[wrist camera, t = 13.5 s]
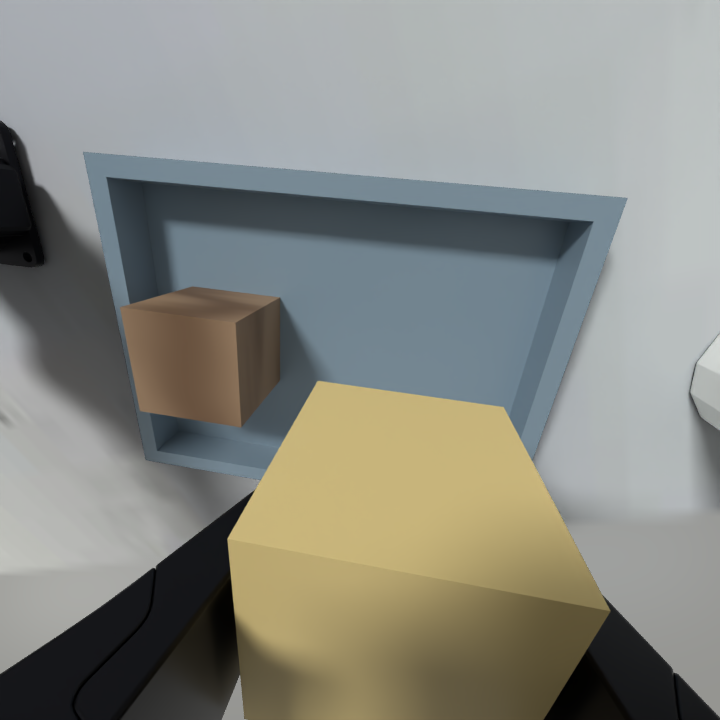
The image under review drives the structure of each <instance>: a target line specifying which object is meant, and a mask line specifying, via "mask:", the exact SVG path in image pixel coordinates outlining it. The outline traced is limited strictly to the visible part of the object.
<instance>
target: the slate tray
mask: <svg viewBox="0 0 720 720" xmlns="http://www.w3.org/2000/svg"><path fill="white" fill-rule="evenodd" d="M83 154H84V159H85V164H86V169H87V174H88V179H89V183H90V188H91V193H92V198H93V203H94V208H95V213H96V218H97V223H98V228H99V233H100V237H101V242H102V247H103V252H104V257H105V262H106V267H107V272H108V277H109V282H110V287H111V292H112V296H113V301H114V306H115V311H116V316H117V321H118V326H119V331H120V336H121V341H122V346H123V350H124V355H125V360H126V365H127V370H128V375H129V380H130V385H131V390H132V395H133V400H134V405H135V409H136V414H137V419H138V424H139V429H140V434H141V439H142V444H143V449H144V454H145V459H146V460H148V461H154V462H159V463H165V464H171V465H177V466H183V467H188V468H194V469H200V470H206V471H211V472H217V473H223V474H229V475H235V476H240V477H246V478H252V479H258V480H261V479H262V477H263V476H264V474H265V472H266V470H267V469H268V467H269V465H270V463H271V462H272V460H273V458H274V456H275V455H276V453H277V451H278V449H279V448H280V446H281V444H282V442H283V441H284V439H285V437H286V435H287V434H288V432H289V430H290V428H291V427H292V425H293V423H294V421H295V420H296V418H297V416H298V414H299V413H300V411H301V409H302V407H303V406H304V404H305V402H306V400H307V399H308V397H309V395H310V393H311V392H312V390H313V388H314V386H315V385H316V383H317V381H323V382H330V383H337V384H344V385H351V386H358V387H365V388H373V389H380V390H387V391H394V392H401V393H408V394H415V395H422V396H429V397H436V398H443V399H450V400H457V401H464V402H471V403H478V404H486V405H493V406H500V407H504V409H505V411H506V412H507V414H508V416H509V418H510V420H511V422H512V424H513V426H514V428H515V430H516V432H517V433H518V435H519V437H520V439H521V441H522V443H523V445H524V447H525V449H526V451H527V453H528V454H529V456H530V458H531V460H533V457H534V454H535V451H536V449H537V446H538V443H539V440H540V438H541V435H542V432H543V429H544V427H545V424H546V421H547V418H548V416H549V413H550V410H551V407H552V405H553V402H554V399H555V396H556V394H557V391H558V388H559V385H560V383H561V380H562V377H563V374H564V372H565V369H566V366H567V363H568V361H569V358H570V355H571V352H572V350H573V347H574V344H575V341H576V339H577V336H578V333H579V330H580V328H581V325H582V322H583V319H584V317H585V314H586V311H587V308H588V306H589V303H590V300H591V297H592V295H593V292H594V289H595V286H596V284H597V281H598V278H599V275H600V273H601V270H602V267H603V264H604V262H605V259H606V256H607V253H608V251H609V248H610V245H611V242H612V240H613V237H614V234H615V231H616V229H617V226H618V223H619V220H620V218H621V215H622V212H623V209H624V207H625V204H626V201H627V198H622V197H610V196H598V195H586V194H575V193H563V192H551V191H539V190H527V189H515V188H504V187H492V186H480V185H468V184H456V183H444V182H432V181H421V180H409V179H397V178H385V177H373V176H361V175H350V174H338V173H326V172H314V171H302V170H290V169H279V168H267V167H255V166H243V165H231V164H219V163H208V162H196V161H184V160H172V159H160V158H148V157H137V156H125V155H113V154H101V153H89V152H83ZM192 286H193V287H201V288H209V289H217V290H225V291H233V292H241V293H249V294H257V295H265V296H273V297H280V381H279V382H278V384H277V385H276V386H275V387H274V388H273V390H272V391H271V392H270V393H269V394H268V396H267V397H266V398H265V399H264V401H263V402H262V403H261V404H260V405H259V407H258V408H257V409H256V410H255V411H254V413H253V414H252V415H251V416H250V418H249V419H248V420H247V421H246V422H245V424H244V425H243V426H242V427H235V426H229V425H223V424H216V423H210V422H204V421H198V420H192V419H186V418H180V417H173V416H167V415H161V414H155V413H149V412H143V411H140V409H139V403H138V398H137V393H136V388H135V383H134V378H133V372H132V367H131V362H130V357H129V352H128V347H127V341H126V336H125V331H124V326H123V321H122V316H121V310H120V307H123V306H126V305H129V304H133V303H136V302H140V301H143V300H147V299H150V298H154V297H157V296H161V295H164V294H168V293H171V292H175V291H178V290H182V289H185V288H189V287H192Z"/></svg>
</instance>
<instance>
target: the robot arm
mask: <svg viewBox="0 0 720 720" xmlns="http://www.w3.org/2000/svg"><path fill="white" fill-rule="evenodd" d="M0 264H8V265H16V266H25V267H36V266H42V265H43V264H44V256H43V252H42V248H41V245H40V241H39V237H38V233H37V230H36V226H35V222H34V219H33V215H32V211H31V208H30V204H29V200H28V197H27V193H26V189H25V186H24V182H23V178H22V175H21V171H20V167H19V164H18V160H17V156H16V153H15V149H14V145H13V142H12V138H11V134H10V132H9V129H8V127H7V126H6V125H5V124H4V123H3V122H2V121H0ZM254 491H255V490H254ZM254 491H253V492H252V493H250V494H249V495H248V496H246V497H245V498H244V499H242V500H241V501H240V502H239V503H237V504H236V505H235V506H233V507H232V508H231V509H229V510H228V511H227V512H225V513H224V514H223V515H222V516H220V517H219V518H218V519H216V520H215V521H214V522H212V523H211V524H210V525H208V526H207V527H206V528H205V529H203V530H202V531H201V532H199V533H198V534H197V535H195V536H194V537H193V538H191V539H190V540H189V541H188V542H186V543H185V544H184V545H182V546H181V547H180V548H178V549H177V550H176V551H174V552H173V553H172V554H170V555H169V556H168V557H167V558H165V559H164V560H163V561H161V562H160V563H159V564H158V565H157V566H156V569H155V568H152V569H151V570H149V571H148V572H147V573H145V574H144V575H143V576H142V577H140V578H139V579H138V580H136V581H135V582H134V583H132V584H131V585H130V586H128V587H127V588H125V589H124V590H123V591H121V592H120V593H119V594H117V595H116V596H115V597H113V598H112V599H111V600H109V601H108V602H106V603H105V604H104V605H102V606H101V607H100V608H98V609H97V610H95V611H94V612H92V613H91V614H89V615H88V616H86V617H85V618H83V619H82V620H81V621H79V622H78V623H76V624H75V625H73V626H72V627H70V628H69V629H67V630H66V631H64V632H63V633H62V634H60V635H59V636H57V637H56V638H54V639H52V640H51V641H50V642H48V643H46V644H45V645H43V646H42V647H40V648H39V649H37V650H36V651H34V652H33V653H31V654H30V655H28V656H27V657H25V658H24V659H22V660H21V661H19V662H18V663H16V664H15V665H13V666H12V667H10V668H9V669H7V670H6V671H4V672H3V673H1V674H0V720H222V717H223V715H224V712H225V710H226V707H227V705H228V702H229V700H230V697H231V695H232V693H233V690H234V688H235V685H236V683H237V680H238V678H239V675H240V666H239V656H238V645H237V635H236V624H235V613H234V603H233V592H232V582H231V571H230V561H229V550H228V540H227V539H228V537H229V535H230V533H231V532H232V530H233V528H234V526H235V525H236V523H237V521H238V519H239V518H240V516H241V514H242V512H243V511H244V509H245V507H246V505H247V504H248V502H249V500H250V498H251V497H252V495H253V493H254ZM602 596H603V595H602ZM603 598H604V599H605V601H606V603H607V605H608V607H609V609H610V613H609V615H608V616H607V618H606V619H605V621H604V623H603V624H602V626H601V628H600V629H599V631H598V632H597V634H596V636H595V637H594V639H593V640H592V642H591V644H590V645H589V647H588V649H587V650H586V652H585V653H584V655H583V657H582V658H581V660H580V662H579V663H578V665H577V666H576V668H575V670H574V671H573V673H572V674H571V676H570V678H569V679H568V681H567V683H566V684H565V686H564V687H563V689H562V691H561V692H560V694H559V696H558V697H557V699H556V700H555V702H554V704H553V705H552V707H551V709H550V710H549V712H548V713H547V715H546V717H545V718H544V720H720V717H719V716H718V715H717V714H716V713H715V712H714V711H713V710H712V709H711V708H710V707H709V706H708V705H707V704H706V703H705V702H704V701H703V700H702V699H701V698H700V697H699V696H698V695H697V693H696V692H695V691H694V690H693V689H692V688H691V687H690V686H689V685H688V684H687V683H686V682H685V681H684V680H683V679H682V678H681V677H680V676H679V675H678V674H677V673H673V669H672V668H671V666H670V665H669V664H668V663H667V662H666V661H665V660H664V659H663V658H662V657H661V656H660V655H659V654H658V653H657V652H656V651H655V650H654V649H653V647H652V646H651V645H650V644H649V643H648V642H647V641H646V640H645V639H644V638H643V637H642V636H641V635H640V634H639V633H638V632H637V631H636V630H635V629H634V628H633V626H632V625H631V624H629V622H628V621H627V620H626V619H625V618H624V617H623V616H622V615H621V614H620V613H619V612H618V611H617V610H616V609H615V608H614V607H613V605H612V604H611V603H610V602H609V601H608V600H607V599H606V598H605V597H604V596H603Z"/></svg>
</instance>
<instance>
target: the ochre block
mask: <svg viewBox="0 0 720 720" xmlns="http://www.w3.org/2000/svg"><path fill="white" fill-rule="evenodd" d="M227 540H228V550H229V561H230V571H231V582H232V592H233V603H234V613H235V624H236V635H237V645H238V656H239V666H240V676H241V687H242V698H243V708H244V719H248V720H544V718H545V717H546V715H547V713H548V712H549V710H550V709H551V707H552V705H553V704H554V702H555V700H556V699H557V697H558V696H559V694H560V692H561V691H562V689H563V687H564V686H565V684H566V683H567V681H568V679H569V678H570V676H571V674H572V673H573V671H574V670H575V668H576V666H577V665H578V663H579V662H580V660H581V658H582V657H583V655H584V653H585V652H586V650H587V649H588V647H589V645H590V644H591V642H592V640H593V639H594V637H595V636H596V634H597V632H598V631H599V629H600V628H601V626H602V624H603V623H604V621H605V619H606V618H607V616H608V615H609V613H610V609H609V607H608V605H607V603H606V601H605V599H604V598H603V596H602V594H601V592H600V590H599V588H598V586H597V584H596V582H595V580H594V579H593V577H592V575H591V573H590V571H589V569H588V567H587V565H586V563H585V561H584V559H583V558H582V556H581V554H580V552H579V550H578V548H577V546H576V544H575V542H574V540H573V539H572V537H571V535H570V533H569V531H568V529H567V527H566V525H565V523H564V521H563V519H562V517H561V516H560V514H559V512H558V510H557V508H556V506H555V504H554V502H553V500H552V498H551V496H550V495H549V493H548V491H547V489H546V487H545V485H544V483H543V481H542V479H541V477H540V475H539V474H538V472H537V470H536V468H535V466H534V464H533V462H532V460H531V458H530V456H529V454H528V453H527V451H526V449H525V447H524V445H523V443H522V441H521V439H520V437H519V435H518V433H517V432H516V430H515V428H514V426H513V424H512V422H511V420H510V418H509V416H508V414H507V412H506V411H505V409H504V407H500V406H493V405H486V404H478V403H471V402H464V401H457V400H450V399H443V398H436V397H429V396H422V395H415V394H408V393H401V392H394V391H387V390H380V389H373V388H365V387H358V386H351V385H344V384H337V383H330V382H323V381H317V383H316V385H315V386H314V388H313V390H312V392H311V393H310V395H309V397H308V399H307V400H306V402H305V404H304V406H303V407H302V409H301V411H300V413H299V414H298V416H297V418H296V420H295V421H294V423H293V425H292V427H291V428H290V430H289V432H288V434H287V435H286V437H285V439H284V441H283V442H282V444H281V446H280V448H279V449H278V451H277V453H276V455H275V456H274V458H273V460H272V462H271V463H270V465H269V467H268V469H267V470H266V472H265V474H264V476H263V477H262V479H261V481H260V483H259V484H258V486H257V488H256V490H255V491H254V493H253V495H252V497H251V498H250V500H249V502H248V504H247V505H246V507H245V509H244V511H243V512H242V514H241V516H240V518H239V519H238V521H237V523H236V525H235V526H234V528H233V530H232V532H231V533H230V535H229V537H228V539H227Z"/></svg>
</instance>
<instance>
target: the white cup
mask: <svg viewBox="0 0 720 720" xmlns="http://www.w3.org/2000/svg"><path fill="white" fill-rule="evenodd" d="M690 393H691V395H692V398H693V400H694V402H695V405H696V407H697V410H698V412H699V414H700V416H701V417H702V418H703V419H704V420H705V421H707V422H708V423H710V424H711V425H712V426H714V427H715V428H717V429H718V430H719V431H720V334H719V335H718V336H717V338H716V339H715V340H714V341H713V343H712V344H711V345H710V346H709V348H708V349H707V350H706V351H705V353H704V354H703V355H702V356H701V358H700V359H699V360H698V362H697V364H696V368H695V372H694V377H693V381H692V386H691V390H690Z"/></svg>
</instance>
